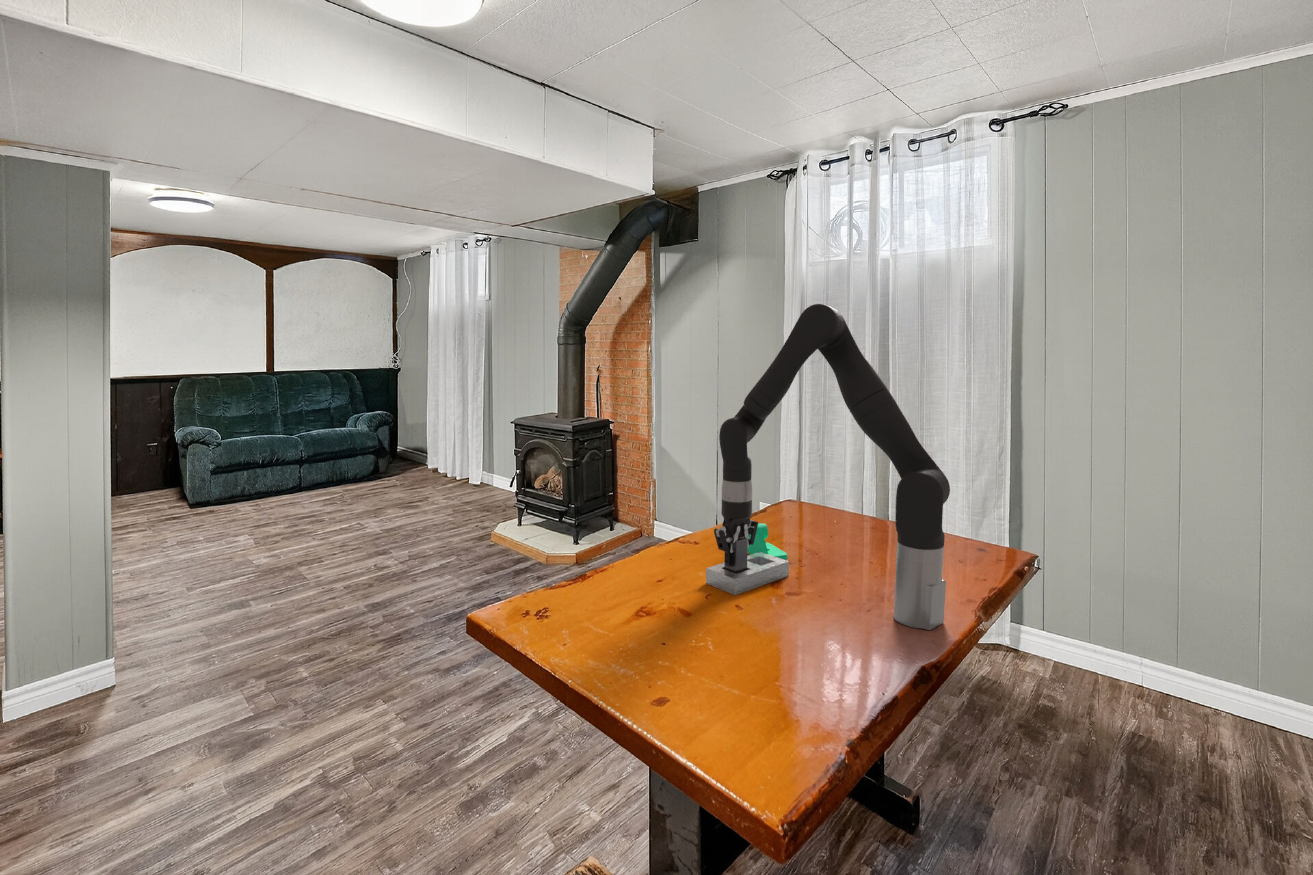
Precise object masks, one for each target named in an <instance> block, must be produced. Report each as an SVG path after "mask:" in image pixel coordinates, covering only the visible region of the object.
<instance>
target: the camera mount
mask: <svg viewBox="0 0 1313 875" xmlns="http://www.w3.org/2000/svg"><path fill="white" fill-rule="evenodd" d="M750 537H751V534H750V535H749V539H750ZM768 537H769V528H768V525H767V524H766V523H765V522H764V523H758V527H757V531H756V536H755V540H754V543H753V545H751V544H750V545H749V548H747V554H749V555H751V554H754V553H758V552H762V553H765V554H768V555H771V556H774V557H777V558H780V559H784V560H787V561H788V553H787V552H785V551H784V550H782V549H780V548H778V547H777V546H775V545H774V544H772V543H770V542H766V539H768Z"/></svg>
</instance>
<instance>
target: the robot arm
mask: <svg viewBox="0 0 1313 875" xmlns="http://www.w3.org/2000/svg"><path fill="white" fill-rule="evenodd" d="M817 350H818V351H819V352H820V353H821V355H822V356H823V357H824V359H825V360H826V362H827V363H828V365H829V366H830V368H831V370H832V371H833V373H834V376H835V379H836V382H837V385H838V388H839V391H840V393H841V395H842V399H843V401H844V403H845V405H846V407H847V409H848V411H849V412H850V414H851V416H852V417H853V419H854V421H856V424H857V425H858V426H859V428H860V429H861V430H862V432H863V433H864V434H865V435H866V436H867V437H868V438H869V439H870V440H871V442H873V443H874V444H875V445H877V447H878V448H880V450H882V451H883V453H884V454H885V455H886V456H887V457H888V459H890V461H891V463H892V464H893V466H894V468H895V470H896V472H897V473H898V476H899V477H900V480H899V482H898V484H897V488H896V494H895V530H896V535H897V539H896V540H897V541H896V559H895V560H896V561H895V578H894V579H895V584H894V600H893V602H894V604H893V619H894V620H895V621H896V622H897V623H900V624H901V625H904V626H907V627H909V628H915V629H922V630H923V629H924V630H928V631H931V630H933V629H935V628H937V627H939V626H940V625H942V624H944V622H945V621H944V620H945V606H946V603H945V602H946V592H947V591H946V589H947V581H946V580H945V579H943V571H944V570H943V567H944V550H945V538H946V537H945V532H944V531H943V515H944V514H943V512H944V505H945V503H946V502H947V500H948V499H949V496H950V493H951V487H950V481H949V479H948V478H947V476H946V474H945V473H944V472H943V471H942V469H941V467H939V465H937V463H936V462H935V460H933V458H932V457H931V456H930V455H929V453H928V452H927V450H926V449H925V447H923V445H922V444H921V442H920V441H919V439H918V438H917V436H916V434H915V432H914V430H913V429H912V427H911V425H910V423H909V422H908V420H907V418H906V416H905V415H904V413H903V412H902V410H901V408H900V407H899V405H898V402H896V400H895V398H894V396H893V395H892V393H891V391H890V390H889V389H888V387H887V385H886V384H885V382H884V381H883V380H882V379H881V377H880V375H878V373H877V371H876V370H875V369H874V367H873V366H872V365H871V364H870V363H869V361H868V360H867V359H866V357H865V356H864V355H863V353H862V352H861V350H860V348H859V346H858V345H857V343H856V340H855V338H854V337H853V334H852V333H851V331H850V328H849V326H848V324H847V322H846V320H845V317H844V316H843V315H842V313H841V312H840V311H839V310H838V309H836V308H834V307H832V306H830V305H827V304H825V303H816V304H815V303H814V304H812V305H809V306H808V307H806V308H805V309H804V310H803V311H802V312H801V314H800V315H799V317H798V319H797V320H796V323H795V324H794V326H793V328H792V329H791V331H790V334H789V336H788V337H787V339H786V340H785V342H784V344H783V346H782V347H781V349H780V350H779V352H778V354H777V355H776V357H775V358H774V360H773V361H772V362H771V363H770V365H769V366H768V368H767V369H766V371H764V373H763V375H762V376H761V377H760V378H759V379H758V381H757V382H756V384H754V386H753V387H752V389H751V390H750V391H749V392H748V393H747V395H746V397H745V398H744V401H743V405H742V407H741V408H740V409H739V410H738V412H737V413H736V414H735V415H734V417H731V418H728V419H726V420H725V421H723V423H722V424H721V426H720V429H719V434H718V437H719V448H720V452H721V453H720V454H721V459H722V484H721V512H720V513H721V516H722V518H723V522H722V525H721V527H719V528H716V527H715V528H714V529H713V534H714V538H715V541H716V545H717V549H718V550H719V551H722V552H724V558H725V564H726V566H729V567H733V566H734V553H733V551H734V544H735V543H736V541H737V539H738V538H739V537H744V538H748V541H747V548H749V545H750V544H751V545H753V543H754V540H755V536H756V531H757V527H758V524H759V521H756V520H753V519H751V517H752V516H753V484H752V471H753V470H752V460H751V458H750V457H749V456H748V443H749V442H751V441H752V439H753V438H754V437H755V436H756V435H757V433H758V432H759V430H760V429H761V428H762V426H763V424H764V423H765V421H766V419H767V418H768V416H769V415H771V413H772V412H774V411H775V410H774V409H776V407H777V406H778V405H779V404H780V403H781V401H782V400H783V399H784V397H785V396H786V394H787V393H788V391H789V389H790V388H791V385H792V384H793V382H794V380H795V378H796V376H797V374H798V372H799V371H800V370H801V368H802V366H804V364H805V362H806V361H808V359H809V358H810V357H811V356H812V355H813V354H814V353H815V352H816V351H817ZM750 534H751V537H750V539H749V535H750ZM729 537H730V538H733V539H732V540H731V539H729ZM728 543H730V547H728Z"/></svg>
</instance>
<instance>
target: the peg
mask: <svg viewBox="0 0 1313 875" xmlns="http://www.w3.org/2000/svg"><path fill="white" fill-rule="evenodd" d="M729 539H731V540H732V539H733V538H730V537H729ZM747 541H748V538H744V537H739V538H738V539H737V541H736V543H735V544H734V551H733V553H734V566H733V567H729V566H726V564H725V557H724V562H723V563H724V570H727V571H730V572H732V573H735V574H738V573H741V572H744V571H747V556H748V552H747ZM728 547H730V543H728Z"/></svg>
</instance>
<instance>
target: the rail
mask: <svg viewBox="0 0 1313 875" xmlns="http://www.w3.org/2000/svg"><path fill="white" fill-rule="evenodd" d="M789 565H790V561H789V560H788V559H787V560H784V559H780V558H777V557H774V556H771V555H768V554H765V553H762V552H758V553H754V554H751V555H750V554H747V571H744V572H741V573H738V574H735V573H732V572H730V571H727V570H724V562H722V563H719V564H715V565H712V566H708V567H706V568H705V569H706V570H705V584H706V583H707V584H706V585H709V586H711V585H712V587H714V588H716V587H717V588H716V589H719V590H721V591H724V592H726V593H728V594H731V595H733V596H737V595H739V594H742V593H745V592H748V591H751V590H753V589H756V588H759V587H762V586H764V585H767V584H771V583H772V582H776V581H778V580H781V579H785V578H787V577H789V574H790V571H789V570H790V569H789V568H790V566H789Z"/></svg>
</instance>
